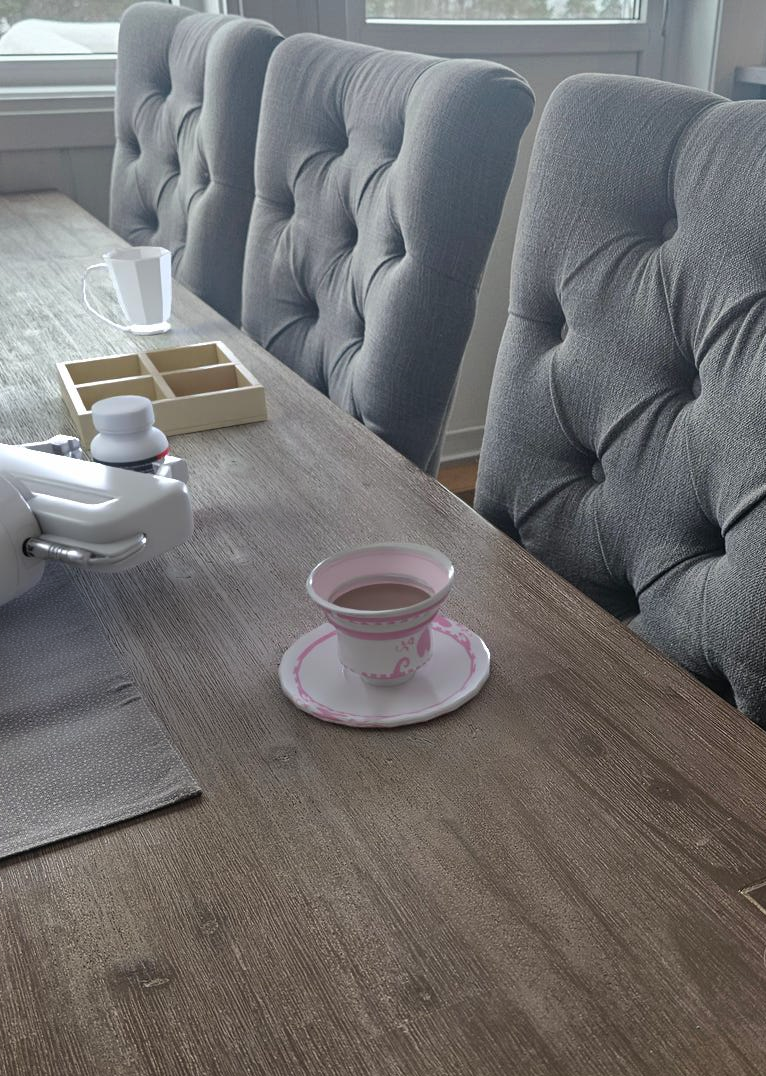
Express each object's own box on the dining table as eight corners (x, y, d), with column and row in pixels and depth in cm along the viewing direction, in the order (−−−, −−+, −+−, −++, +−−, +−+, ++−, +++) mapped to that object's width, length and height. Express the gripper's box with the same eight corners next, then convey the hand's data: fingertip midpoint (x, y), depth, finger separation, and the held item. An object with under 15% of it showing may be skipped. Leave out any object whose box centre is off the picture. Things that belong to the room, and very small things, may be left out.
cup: (181, 336, 121) (168, 258, 117) (85, 342, 120) (69, 264, 115) (184, 318, 127) (172, 244, 122) (93, 324, 125) (77, 249, 121)
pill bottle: (184, 534, 79) (162, 413, 75) (107, 544, 78) (81, 422, 73) (179, 505, 84) (158, 388, 79) (106, 514, 82) (81, 396, 78)
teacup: (419, 756, 57) (413, 653, 54) (234, 695, 62) (218, 596, 59) (527, 647, 66) (528, 552, 62) (358, 601, 71) (350, 511, 67)
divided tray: (61, 394, 105) (54, 363, 104) (225, 370, 111) (221, 340, 109) (85, 450, 93) (78, 415, 92) (268, 420, 99) (264, 386, 97)
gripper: (91, 519, 62) (242, 435, 72) (-162, 461, 69) (7, 393, 80) (113, 618, 65) (254, 525, 75) (-131, 552, 73) (27, 476, 83)
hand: (125, 456), depth 78 cm, fingers open, 8 cm apart
